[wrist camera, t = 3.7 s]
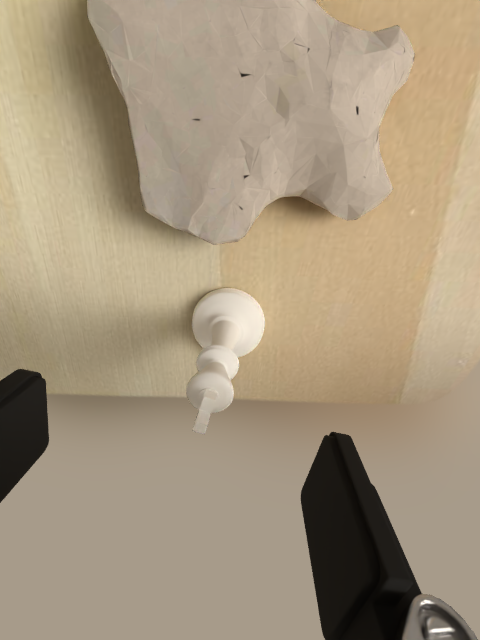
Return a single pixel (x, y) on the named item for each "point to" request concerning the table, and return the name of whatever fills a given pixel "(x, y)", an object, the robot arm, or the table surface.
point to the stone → (250, 106)
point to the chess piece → (221, 348)
